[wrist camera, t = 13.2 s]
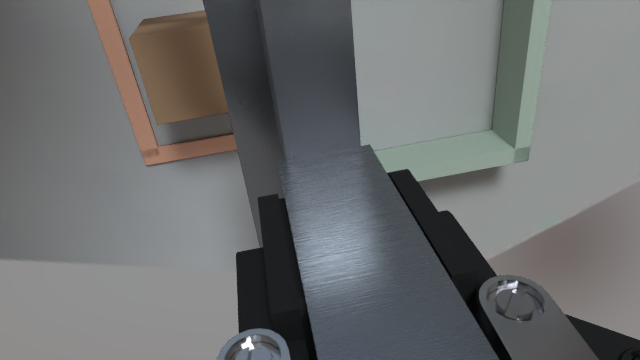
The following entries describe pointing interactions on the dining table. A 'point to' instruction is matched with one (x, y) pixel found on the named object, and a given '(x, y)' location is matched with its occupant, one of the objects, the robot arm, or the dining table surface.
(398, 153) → the sage pen
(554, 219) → the dining table surface
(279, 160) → the rake
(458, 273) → the robot arm
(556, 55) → the dining table surface
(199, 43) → the walnut block
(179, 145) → the terracotta bay outline
